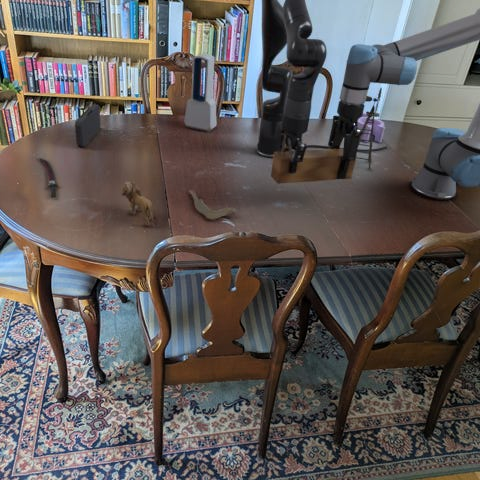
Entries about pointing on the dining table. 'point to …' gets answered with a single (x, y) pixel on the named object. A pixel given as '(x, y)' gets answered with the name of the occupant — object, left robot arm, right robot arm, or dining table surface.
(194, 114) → the electronic device
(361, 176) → the dining table surface
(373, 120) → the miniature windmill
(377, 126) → the purple notched block
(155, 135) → the dining table surface
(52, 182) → the sword
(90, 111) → the handheld gaming console
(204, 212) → the jawbone
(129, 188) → the lion figurine
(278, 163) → the bar
